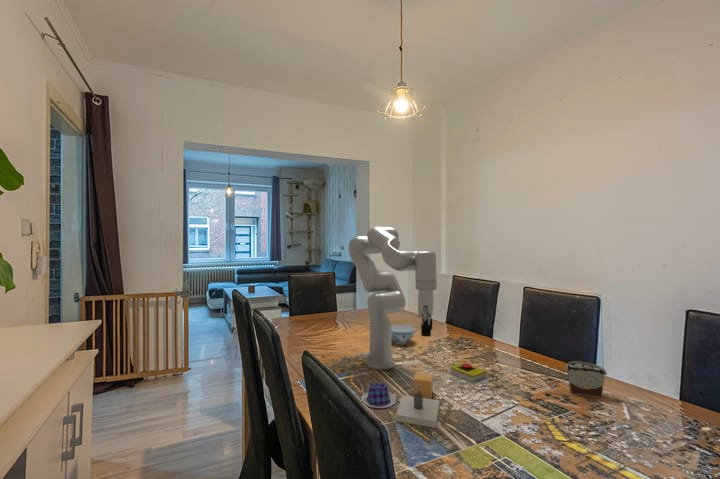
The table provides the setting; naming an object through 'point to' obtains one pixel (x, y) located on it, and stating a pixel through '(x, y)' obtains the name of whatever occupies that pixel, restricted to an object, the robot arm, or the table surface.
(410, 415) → the board
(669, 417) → the table surface
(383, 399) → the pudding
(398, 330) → the chinaware
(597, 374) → the food container
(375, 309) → the robot arm
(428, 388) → the tan wooden cube
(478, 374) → the emergency button
